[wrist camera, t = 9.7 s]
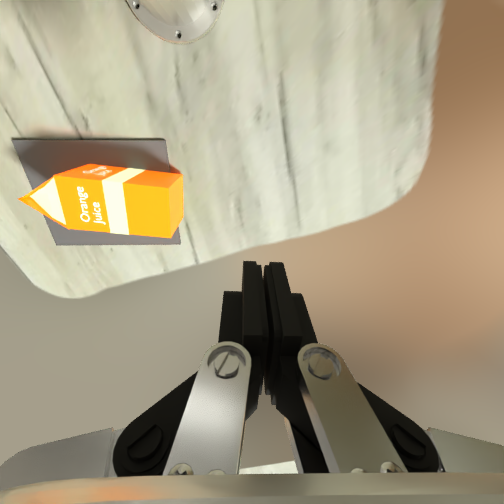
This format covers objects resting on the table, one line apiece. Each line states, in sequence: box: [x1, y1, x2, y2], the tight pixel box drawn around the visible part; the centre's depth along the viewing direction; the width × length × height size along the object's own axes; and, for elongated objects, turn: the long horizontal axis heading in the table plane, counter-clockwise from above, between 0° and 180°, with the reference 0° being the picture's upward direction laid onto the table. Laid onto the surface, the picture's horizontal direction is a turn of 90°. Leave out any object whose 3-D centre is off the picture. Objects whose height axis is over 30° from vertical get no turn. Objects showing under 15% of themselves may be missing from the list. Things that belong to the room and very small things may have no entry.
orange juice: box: [19, 164, 183, 238], centre depth 38 cm, size 8×9×20 cm
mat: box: [12, 140, 181, 245], centre depth 42 cm, size 18×23×1 cm
